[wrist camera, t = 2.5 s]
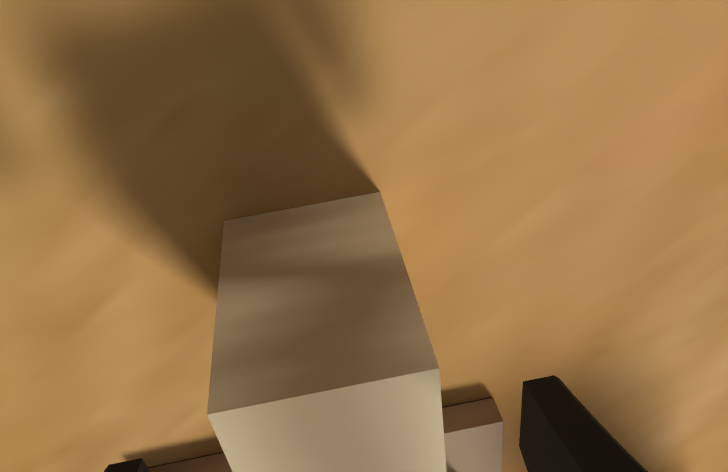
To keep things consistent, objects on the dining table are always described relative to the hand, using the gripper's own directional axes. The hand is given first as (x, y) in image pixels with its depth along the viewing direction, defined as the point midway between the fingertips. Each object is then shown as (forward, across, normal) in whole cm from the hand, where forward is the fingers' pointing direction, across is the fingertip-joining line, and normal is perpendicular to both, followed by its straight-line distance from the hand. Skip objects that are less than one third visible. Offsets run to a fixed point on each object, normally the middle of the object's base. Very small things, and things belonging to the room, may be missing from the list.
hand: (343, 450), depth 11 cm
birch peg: (+6, 0, 0) cm, 6 cm away
